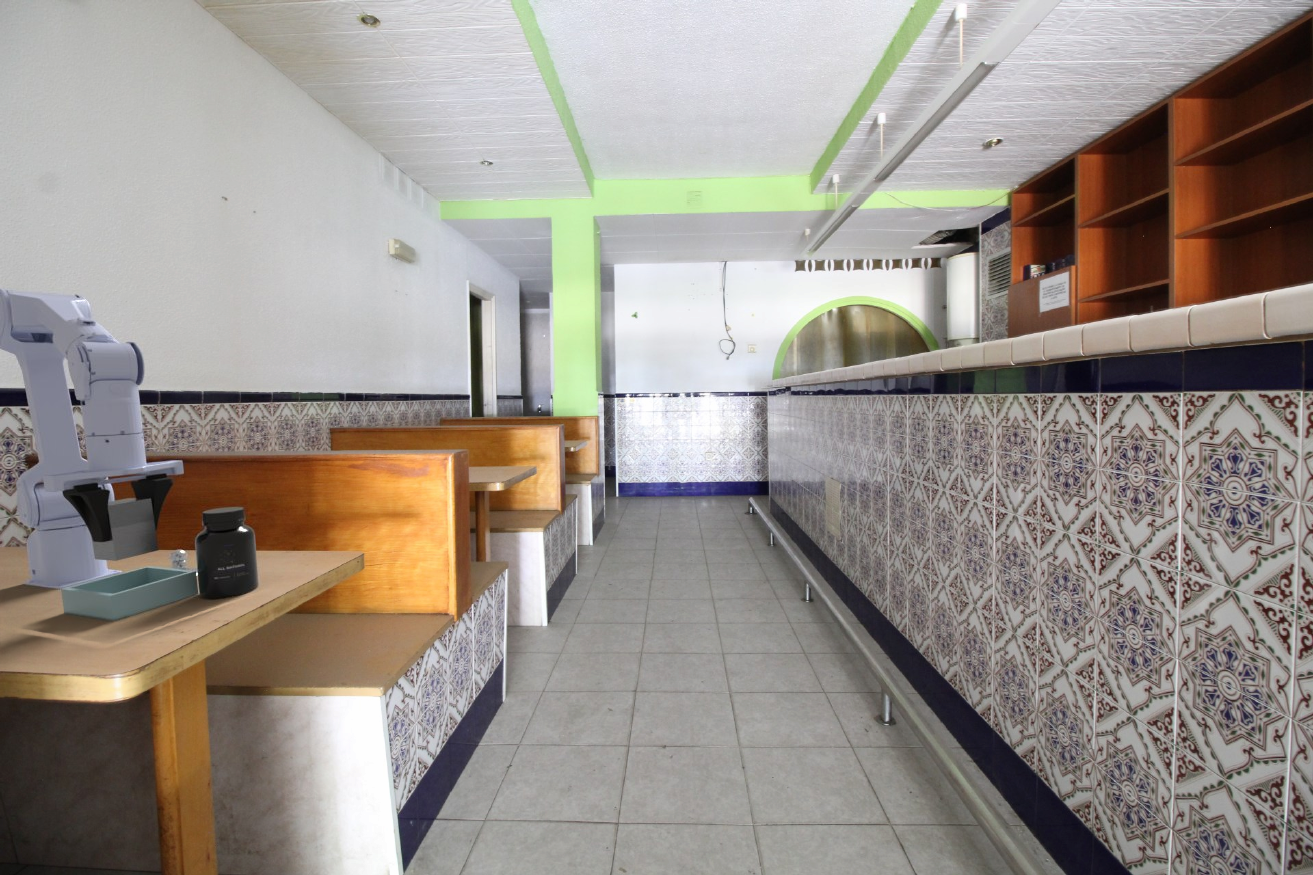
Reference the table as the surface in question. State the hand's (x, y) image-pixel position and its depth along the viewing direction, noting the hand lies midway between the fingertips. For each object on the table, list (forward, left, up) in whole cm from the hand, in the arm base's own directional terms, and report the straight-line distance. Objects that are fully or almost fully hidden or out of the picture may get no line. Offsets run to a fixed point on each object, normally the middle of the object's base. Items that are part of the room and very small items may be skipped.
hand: (126, 535), depth 79 cm
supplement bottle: (+9, +7, -10) cm, 15 cm away
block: (0, 0, -3) cm, 3 cm away
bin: (0, 0, -10) cm, 10 cm away
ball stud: (-7, +10, -10) cm, 16 cm away
